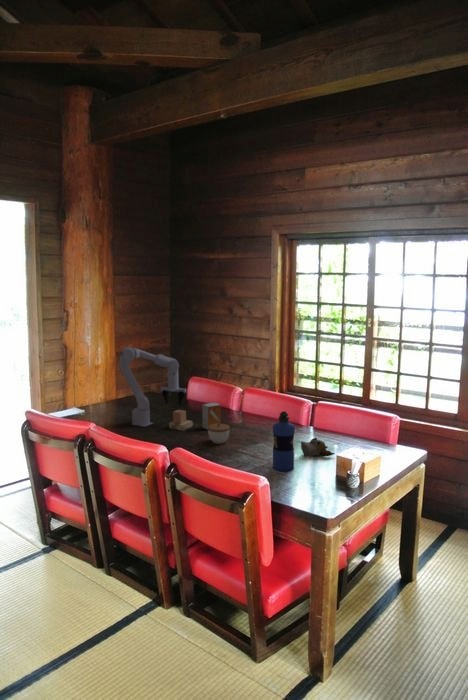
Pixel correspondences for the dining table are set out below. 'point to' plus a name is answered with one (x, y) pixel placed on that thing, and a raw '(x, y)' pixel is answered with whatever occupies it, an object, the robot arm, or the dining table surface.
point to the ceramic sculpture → (315, 448)
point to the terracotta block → (179, 416)
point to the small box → (211, 414)
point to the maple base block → (181, 425)
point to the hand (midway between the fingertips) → (173, 404)
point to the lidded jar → (218, 432)
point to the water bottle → (283, 444)
